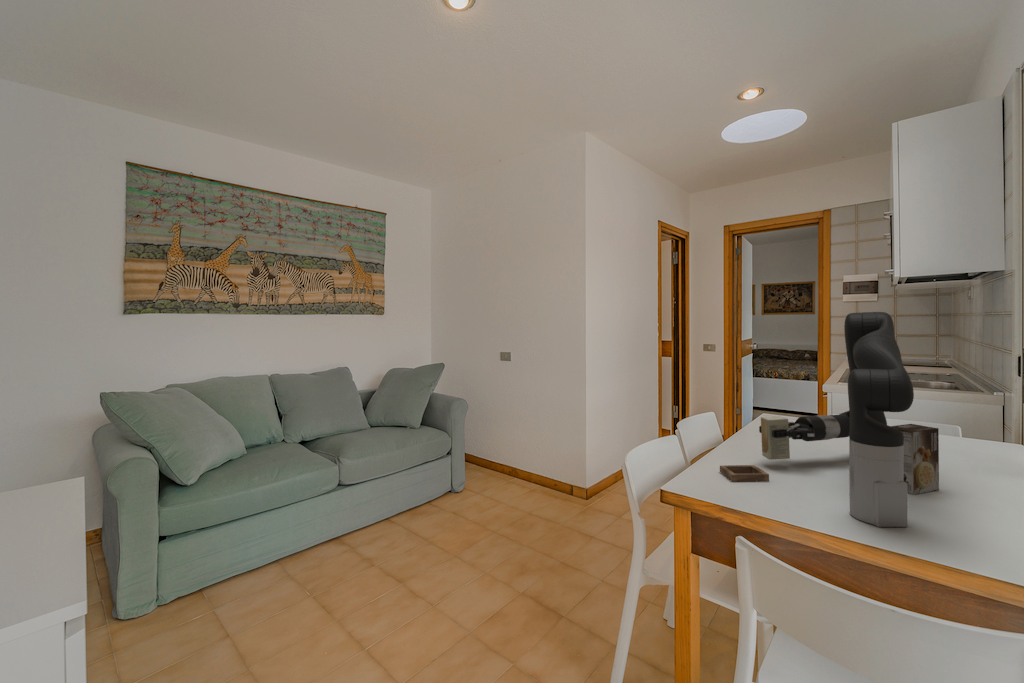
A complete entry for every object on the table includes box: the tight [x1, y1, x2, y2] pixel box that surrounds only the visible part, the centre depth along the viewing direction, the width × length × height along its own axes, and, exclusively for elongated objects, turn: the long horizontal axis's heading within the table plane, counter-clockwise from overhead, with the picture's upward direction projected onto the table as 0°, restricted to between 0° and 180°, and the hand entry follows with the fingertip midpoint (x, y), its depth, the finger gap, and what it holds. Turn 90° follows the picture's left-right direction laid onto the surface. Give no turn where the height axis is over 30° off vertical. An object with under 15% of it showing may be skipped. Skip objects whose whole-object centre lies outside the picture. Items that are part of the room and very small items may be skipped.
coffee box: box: [891, 423, 940, 495], centre depth 112 cm, size 9×6×16 cm
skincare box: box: [760, 415, 791, 461], centre depth 131 cm, size 6×4×12 cm
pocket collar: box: [719, 464, 770, 483], centre depth 124 cm, size 8×10×2 cm
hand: (766, 431), depth 131 cm, fingers closed on skincare box, 5 cm apart
